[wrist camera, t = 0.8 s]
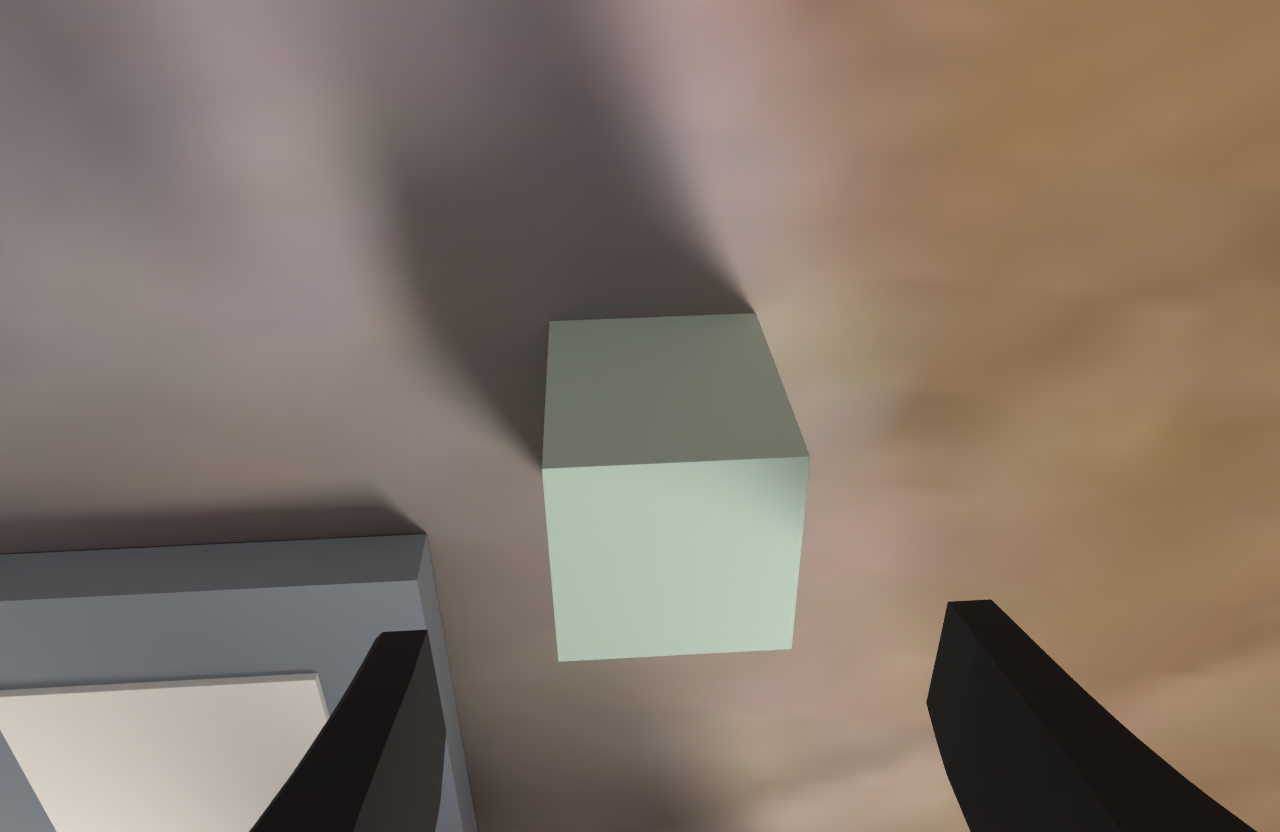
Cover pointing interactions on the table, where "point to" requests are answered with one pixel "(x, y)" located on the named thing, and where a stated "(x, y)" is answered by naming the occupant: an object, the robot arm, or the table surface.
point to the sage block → (670, 488)
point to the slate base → (196, 676)
